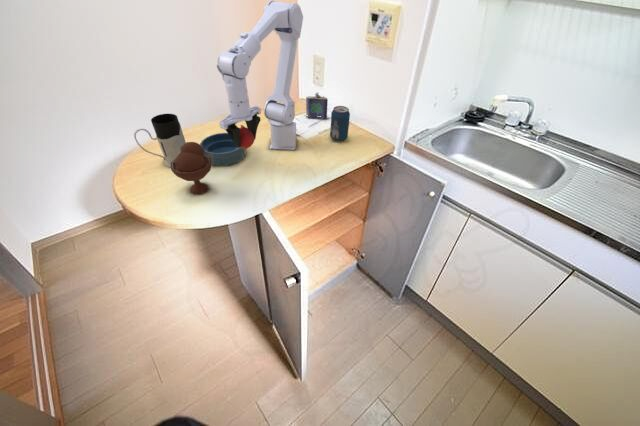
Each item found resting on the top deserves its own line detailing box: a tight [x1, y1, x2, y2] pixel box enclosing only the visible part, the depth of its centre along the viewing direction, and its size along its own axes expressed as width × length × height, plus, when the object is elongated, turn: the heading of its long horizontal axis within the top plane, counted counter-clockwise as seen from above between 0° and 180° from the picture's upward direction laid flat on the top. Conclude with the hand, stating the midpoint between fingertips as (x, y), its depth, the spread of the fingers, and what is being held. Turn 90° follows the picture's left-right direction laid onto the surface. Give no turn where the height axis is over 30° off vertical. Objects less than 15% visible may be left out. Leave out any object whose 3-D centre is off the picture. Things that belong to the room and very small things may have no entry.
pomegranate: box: [240, 124, 255, 150], centre depth 91 cm, size 6×6×8 cm
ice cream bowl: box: [170, 141, 212, 196], centre depth 83 cm, size 11×11×15 cm
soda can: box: [329, 105, 351, 143], centre depth 111 cm, size 7×7×12 cm
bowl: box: [199, 132, 248, 167], centre depth 102 cm, size 15×15×5 cm
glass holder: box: [133, 113, 187, 168], centre depth 94 cm, size 9×14×15 cm, turn 131°
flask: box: [305, 92, 329, 120], centre depth 126 cm, size 9×3×11 cm, turn 84°
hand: (245, 142), depth 92 cm, fingers closed on pomegranate, 6 cm apart
